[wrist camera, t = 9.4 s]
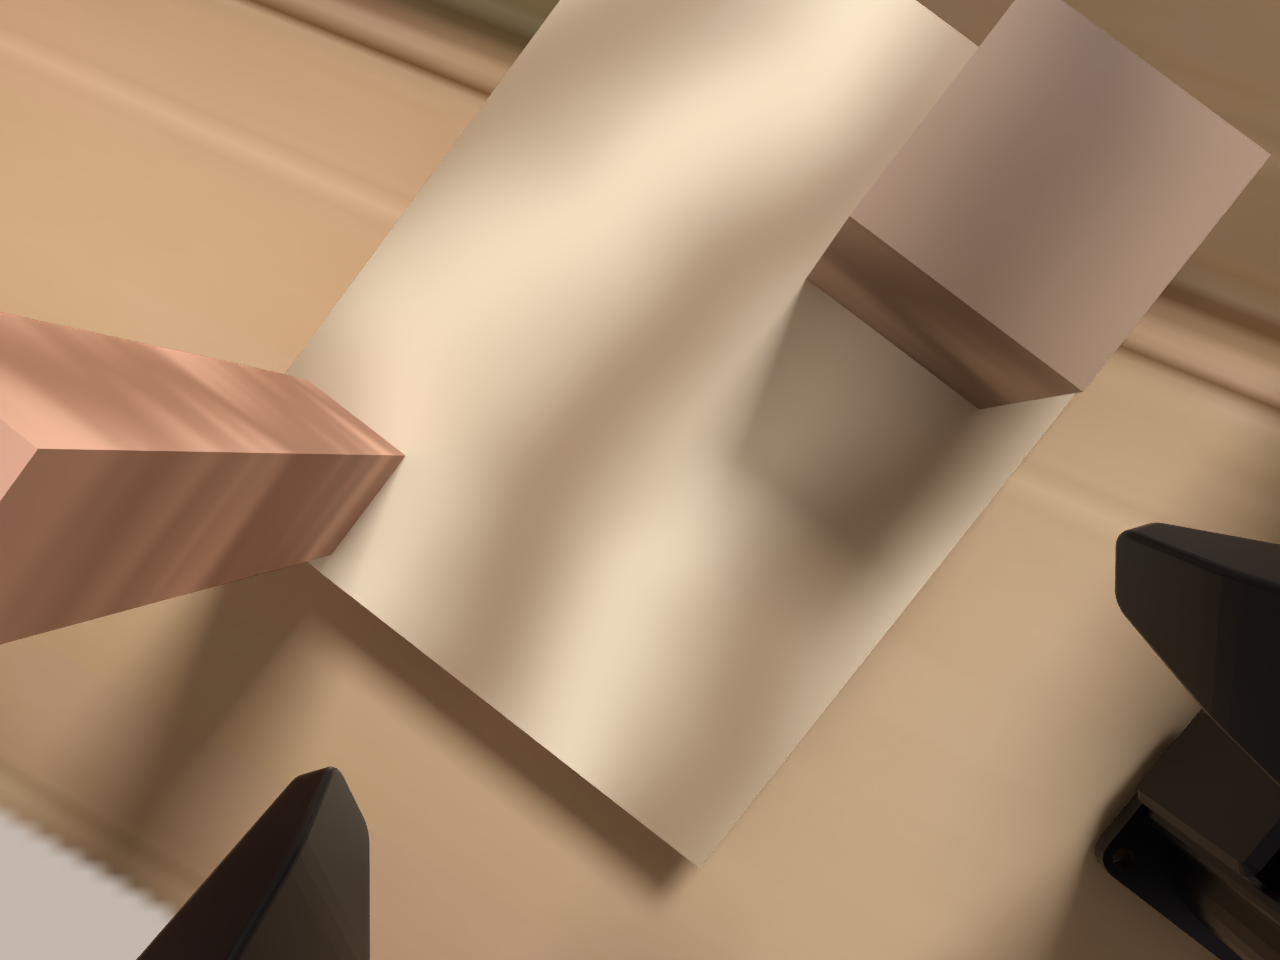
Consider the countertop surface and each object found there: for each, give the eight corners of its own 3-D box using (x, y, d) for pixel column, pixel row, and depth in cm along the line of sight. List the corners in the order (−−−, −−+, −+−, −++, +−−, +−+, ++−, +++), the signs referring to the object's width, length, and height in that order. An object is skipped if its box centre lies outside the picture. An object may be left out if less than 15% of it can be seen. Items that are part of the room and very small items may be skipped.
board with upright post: (1173, 238, 21) (2018, -143, 8) (698, 839, 21) (726, 1421, 8) (685, -126, 21) (695, -1088, 8) (237, 481, 22) (-414, 511, 9)
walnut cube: (1116, 234, 19) (1271, 154, 14) (979, 409, 19) (1082, 391, 14) (940, 103, 19) (1031, -23, 14) (806, 278, 20) (849, 215, 15)
